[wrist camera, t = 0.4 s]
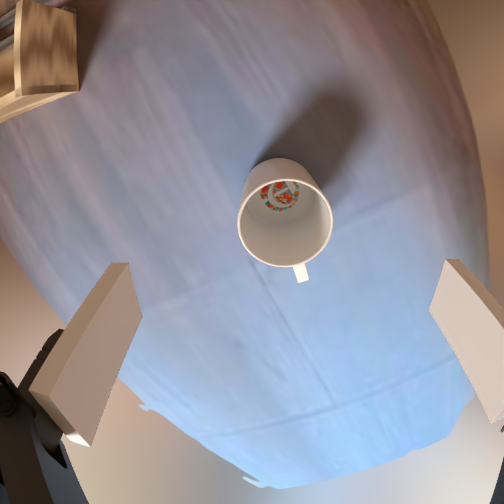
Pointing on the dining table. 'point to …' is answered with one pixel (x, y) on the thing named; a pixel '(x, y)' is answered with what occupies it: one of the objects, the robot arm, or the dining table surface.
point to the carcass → (37, 57)
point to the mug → (284, 215)
